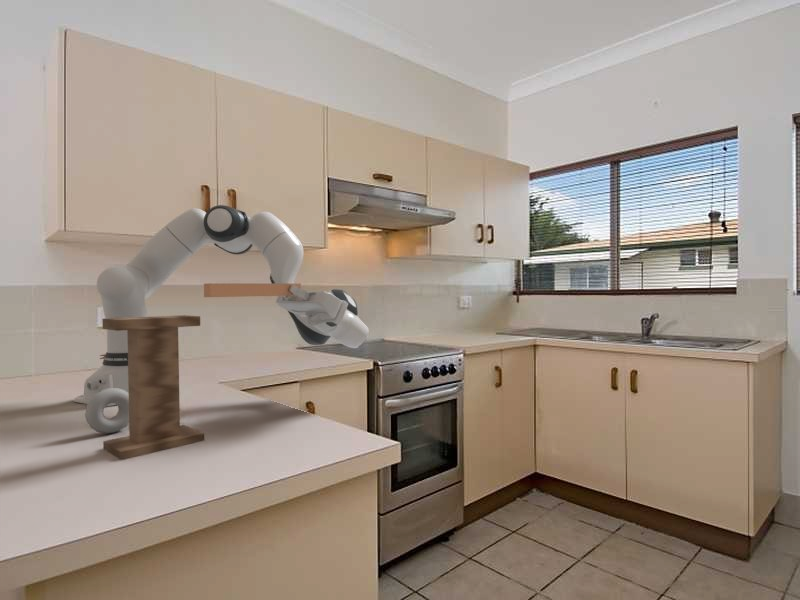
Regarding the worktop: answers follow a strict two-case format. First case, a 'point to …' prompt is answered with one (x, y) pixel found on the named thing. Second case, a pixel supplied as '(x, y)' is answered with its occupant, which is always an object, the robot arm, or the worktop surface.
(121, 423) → the donut
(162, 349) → the stand
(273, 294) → the rod
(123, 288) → the robot arm
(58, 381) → the worktop surface
